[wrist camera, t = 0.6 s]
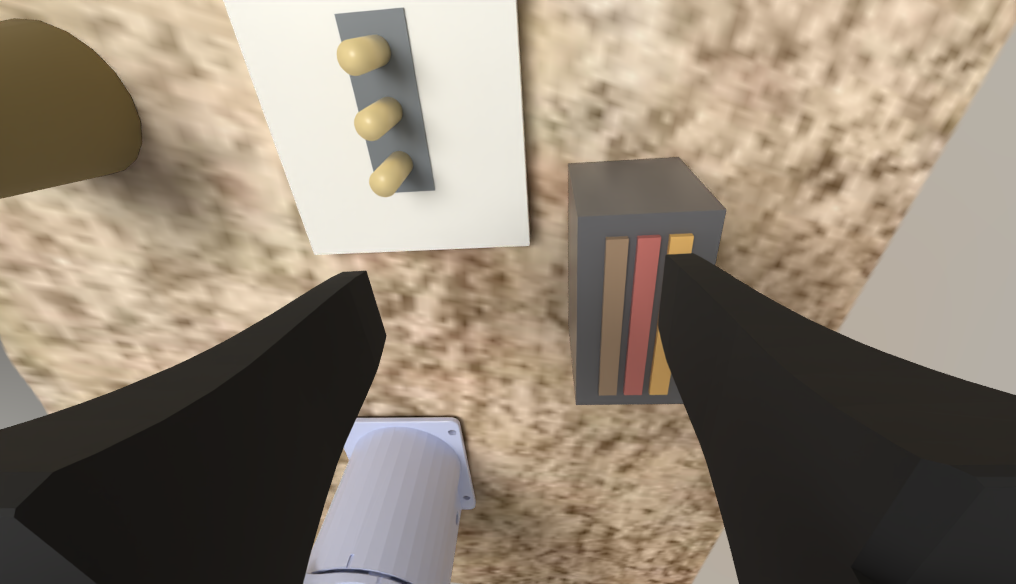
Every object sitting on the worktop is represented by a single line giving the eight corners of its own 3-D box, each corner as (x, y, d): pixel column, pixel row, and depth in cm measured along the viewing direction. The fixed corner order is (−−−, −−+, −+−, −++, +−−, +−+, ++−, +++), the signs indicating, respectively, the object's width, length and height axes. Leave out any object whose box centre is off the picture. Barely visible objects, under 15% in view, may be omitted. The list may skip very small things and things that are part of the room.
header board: (530, 235, 20) (528, 274, 17) (323, 245, 21) (289, 283, 18) (510, -110, 14) (503, -140, 11) (213, -76, 15) (133, -95, 12)
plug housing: (656, 322, 23) (687, 407, 18) (568, 324, 23) (576, 408, 18) (678, 157, 18) (728, 212, 13) (567, 163, 18) (578, 219, 14)
